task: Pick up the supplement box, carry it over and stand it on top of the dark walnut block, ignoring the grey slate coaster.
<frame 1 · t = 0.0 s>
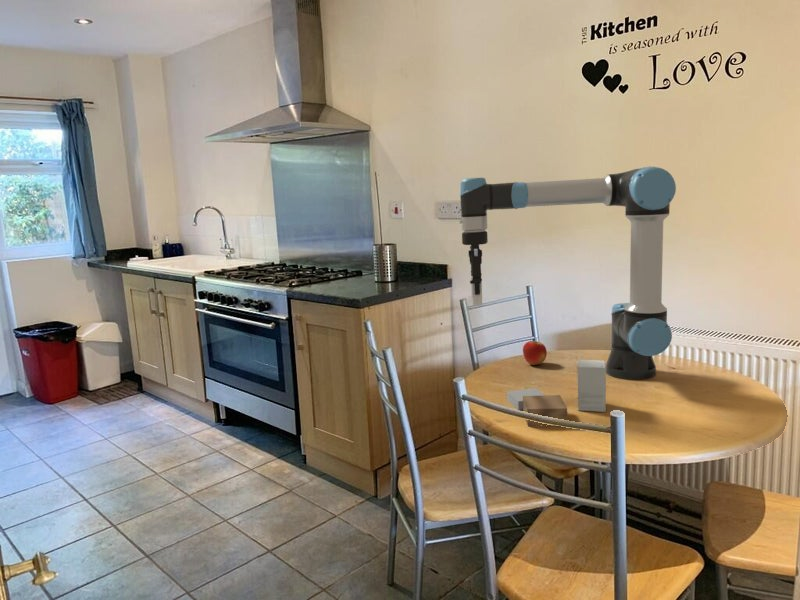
hand: (476, 301, 173), 28 cm above the table, fingers open, 13 cm apart
slate coaster: (527, 404, 164), on the table
apple: (534, 365, 201), on the table
walnut block: (544, 419, 152), on the table
supplement box: (591, 407, 159), on the table
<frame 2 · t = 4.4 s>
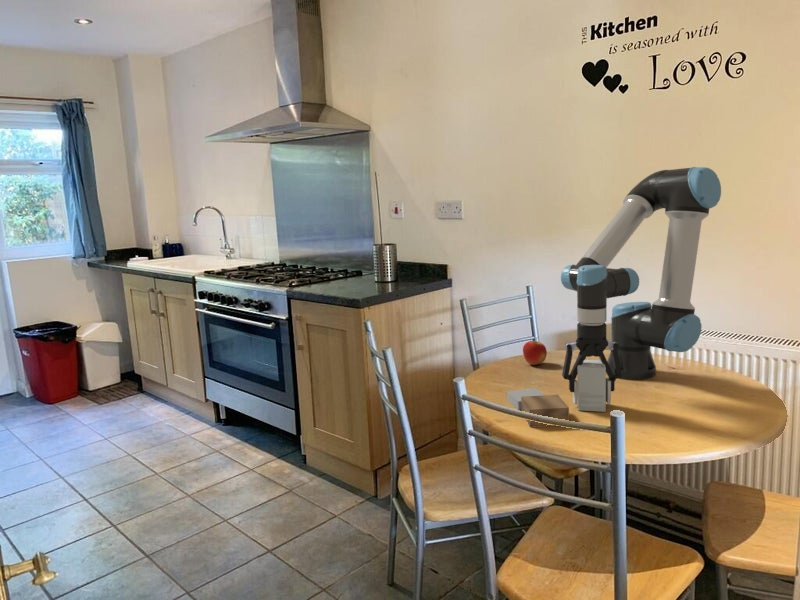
hand: (591, 402, 158), 1 cm above the table, fingers closed on supplement box, 8 cm apart
supplement box: (591, 407, 159), on the table, touching gripper
everything else where it was.
when the fingers open (7 cm above the table, at t = 9.6 s): supplement box drops 1 cm, resting on walnut block.
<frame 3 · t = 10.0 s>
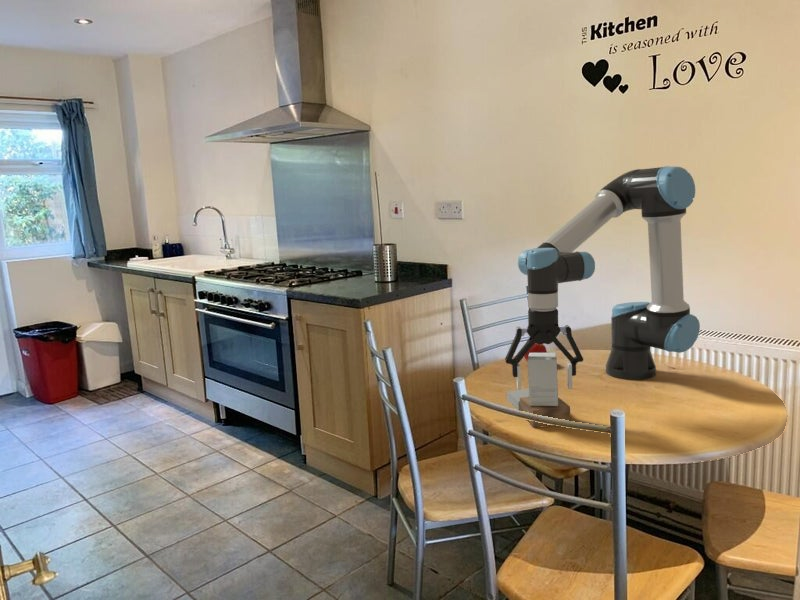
hand: (544, 388, 151), 9 cm above the table, fingers open, 12 cm apart
walnut block: (544, 419, 152), on the table, touching supplement box
supplement box: (543, 402, 151), point 5 cm above the table, touching walnut block
everything else where it was.
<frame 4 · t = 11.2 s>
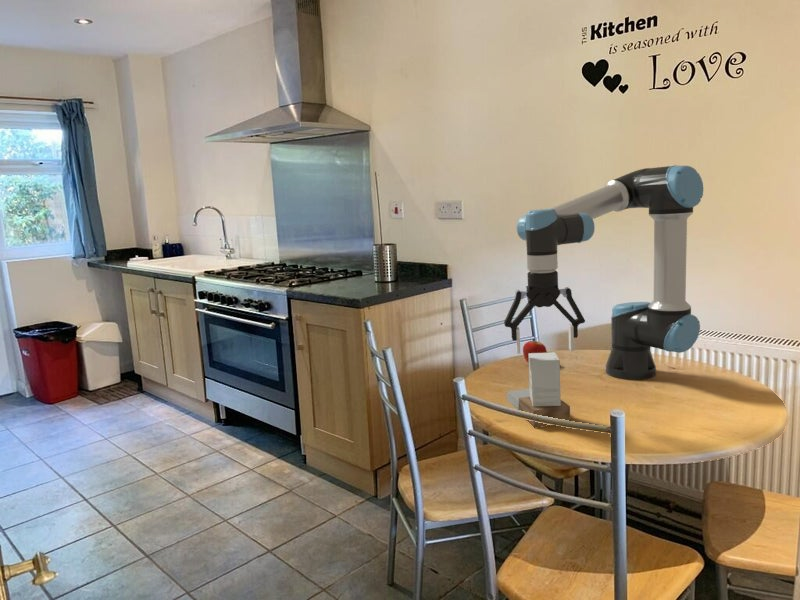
hand: (544, 351, 149), 19 cm above the table, fingers open, 13 cm apart
nothing on the table moved.
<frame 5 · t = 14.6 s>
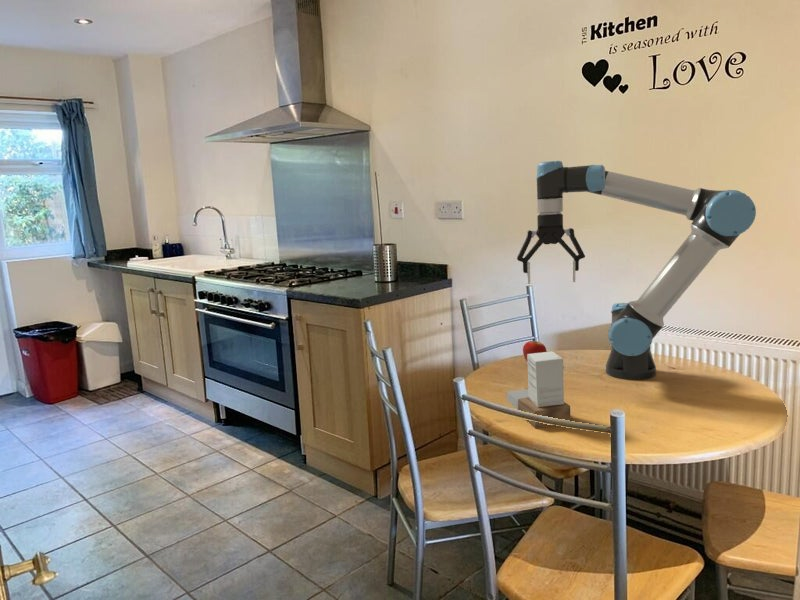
hand: (550, 282, 177), 32 cm above the table, fingers open, 13 cm apart
walnut block: (543, 420, 152), on the table
supplement box: (545, 402, 152), point 4 cm above the table
everything else where it was.
at the end: supplement box inside the target area on the walnut block (0.8 cm from its centre), point 4.9 cm above the walnut block's base; supplement box tilted 1°; the gripper is holding nothing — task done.
